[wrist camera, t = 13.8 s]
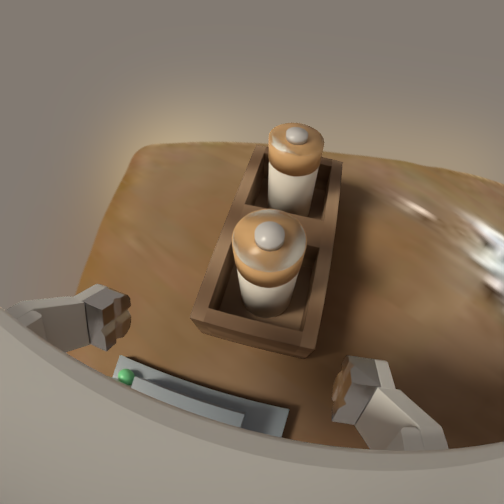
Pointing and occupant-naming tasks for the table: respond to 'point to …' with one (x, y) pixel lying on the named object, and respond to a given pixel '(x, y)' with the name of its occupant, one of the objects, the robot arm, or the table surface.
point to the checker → (201, 399)
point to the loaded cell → (293, 167)
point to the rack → (308, 280)
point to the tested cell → (268, 259)
